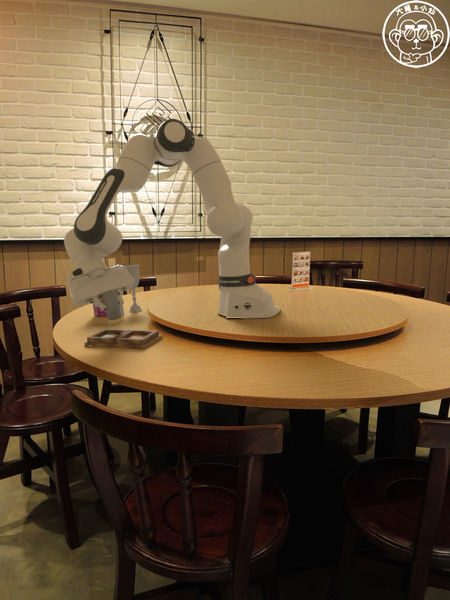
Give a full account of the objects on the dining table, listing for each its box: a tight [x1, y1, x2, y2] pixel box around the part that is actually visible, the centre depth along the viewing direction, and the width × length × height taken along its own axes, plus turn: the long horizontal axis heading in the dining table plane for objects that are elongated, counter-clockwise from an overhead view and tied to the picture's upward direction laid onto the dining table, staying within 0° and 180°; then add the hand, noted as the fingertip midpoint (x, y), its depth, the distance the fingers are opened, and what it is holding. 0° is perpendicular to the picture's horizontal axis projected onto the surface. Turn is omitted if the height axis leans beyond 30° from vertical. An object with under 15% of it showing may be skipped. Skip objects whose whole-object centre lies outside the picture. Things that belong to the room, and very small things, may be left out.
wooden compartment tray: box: [84, 328, 163, 350], centre depth 142 cm, size 21×11×2 cm, turn 69°
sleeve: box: [102, 290, 124, 326], centre depth 144 cm, size 5×5×10 cm
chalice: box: [124, 264, 143, 313], centre depth 182 cm, size 7×7×18 cm
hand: (113, 306), depth 143 cm, fingers closed on sleeve, 4 cm apart
